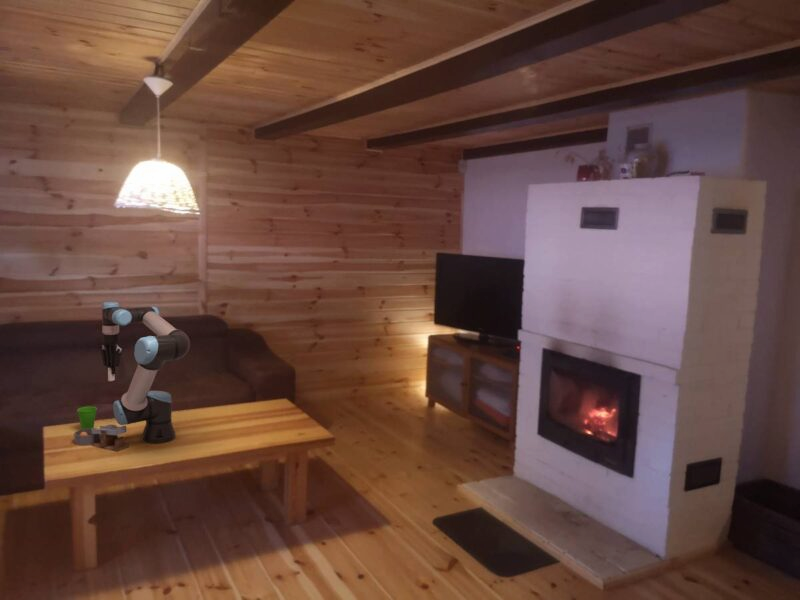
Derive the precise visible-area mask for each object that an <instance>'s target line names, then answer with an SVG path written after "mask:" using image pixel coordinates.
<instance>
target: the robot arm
mask: <svg viewBox="0 0 800 600" xmlns="http://www.w3.org/2000/svg"><path fill="white" fill-rule="evenodd" d="M101 313H102V314H101V319H102V320H101V321H102V322H101V325H102V326H101V327H102V332H101V333H102V342H103V344H102V345H101V346H98V347H99V350H100V353H101V359H102V362H103V366H104V367H106V370H107V371H106V373H107V382H113V381H115V380H116V379H115V377H116V376H115V375H116V368H117V367H119V366H120V361H121V357H122V352H123V350H124V349H123V348H121V347H120V346H119V341H120V326H128V325H129V324H141V323H142V324H144V325H145V326H146V327H147V328H148V329H149V330H151V331H152V332H153V333H154V334H155V335H153V336H152V335H148V336H144V337H140V338H139V339H138V340H137V341H136V343H135V345H134V352H133V355H134V359H135V362H137V366H136V369H135V372H134V374H133V376H132V380H131V382H130V384H129V387H128V390H127V391H126V392H125V393H123V394H122V396H121V399H117V400H115V401H114V402H113V404H112V408H113V409H112V410H113V415H114V419H115V421H116V423H117V424H118V425H121V426H127V425H130V424H136V423H140V422H145V427H144V428H143V432H142V435H141V438H142V441H143V442H144V443H148V444H162V443H168V442H171V441H173V440H175V439H176V431H175V429H174V426H173V422H172V412H173V411H172V408H173V407H172V405H173V404H172V403H173V402H172V400H173V399H172V395H171V393H169V392H167V391H163V390H151V388H152V385H153V382H154V381H155V378H156V375H157V373H158V371H159V370H161V369H162V368H163V367H164V365H165V363H166V362H169V361H177V360H180V359H181V358H183V357H185V356H186V355H187V353H188V352H189V350H190V346H191V342H190V338H189V336H188V335H187V334H186V333H185V332H184V331H183V330H181V329H177V328H176V327H174V326H173V325H172V324H171V323H169V322H168V321H167V320H165V319H164V318H163V317H161V316H160V311H159V309H158V307H156V306H142V307H127V308H121V307H120V303H119V302H118V301H105V302H103V303H102V304H101Z"/></svg>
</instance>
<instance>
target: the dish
mask: <svg viewBox="0 0 800 600" xmlns="http://www.w3.org/2000/svg"><path fill="white" fill-rule="evenodd" d="M91 429H97V428H95V427H94V428H87V429H81V428H80V429H79V430H76V431H74V432H73V443H74V444H75V445H77V446H91V444H93V443H95V442H98V441H101V434H92V430H91ZM82 432H86V433H87V434H88V436H80V433H82Z"/></svg>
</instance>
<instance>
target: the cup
mask: <svg viewBox="0 0 800 600" xmlns="http://www.w3.org/2000/svg"><path fill="white" fill-rule="evenodd" d="M97 410H98V408H97V407H96V406H83V407H79V408H77V410H76V411H77V414H78V419H79V424H80V430H81V429H87V428H95V420H96V414H97Z"/></svg>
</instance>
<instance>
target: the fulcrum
mask: <svg viewBox="0 0 800 600" xmlns="http://www.w3.org/2000/svg"><path fill="white" fill-rule="evenodd" d="M113 427H118V426H117V425H116V426H113ZM118 436H119V435H106V431H105V430H101V441H98V442H95V443H93V444H91V445H90V446H92V447H95V448H100V449H104V450H108V451H112V452H116V453H118V452H119V451H122V450H124V449H127V448H129V447H130V445H129V444H126V438H125V436H120V437H118Z"/></svg>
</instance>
